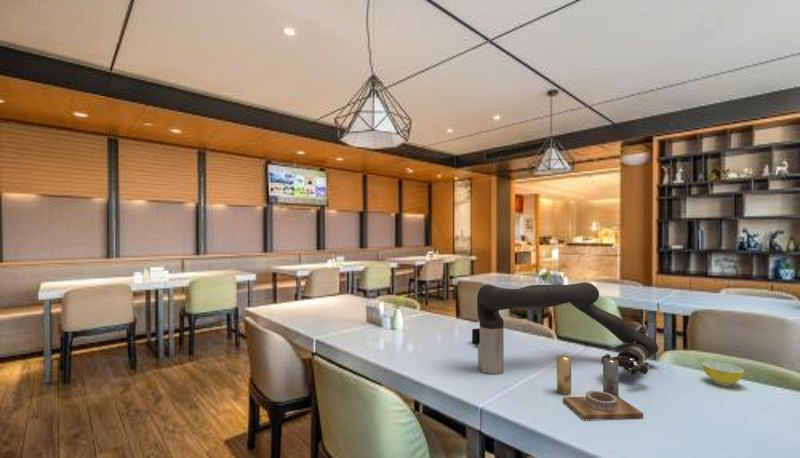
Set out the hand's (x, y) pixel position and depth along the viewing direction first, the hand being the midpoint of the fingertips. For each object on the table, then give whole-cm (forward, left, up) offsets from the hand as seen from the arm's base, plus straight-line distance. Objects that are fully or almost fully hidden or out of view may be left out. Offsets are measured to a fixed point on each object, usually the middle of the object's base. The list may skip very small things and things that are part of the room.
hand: (618, 368), depth 132 cm
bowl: (+40, +1, -7) cm, 41 cm away
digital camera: (-33, +52, -7) cm, 63 cm away
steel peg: (-7, -6, -7) cm, 11 cm away
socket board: (-16, -15, -7) cm, 23 cm away
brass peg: (-21, -2, -7) cm, 22 cm away
